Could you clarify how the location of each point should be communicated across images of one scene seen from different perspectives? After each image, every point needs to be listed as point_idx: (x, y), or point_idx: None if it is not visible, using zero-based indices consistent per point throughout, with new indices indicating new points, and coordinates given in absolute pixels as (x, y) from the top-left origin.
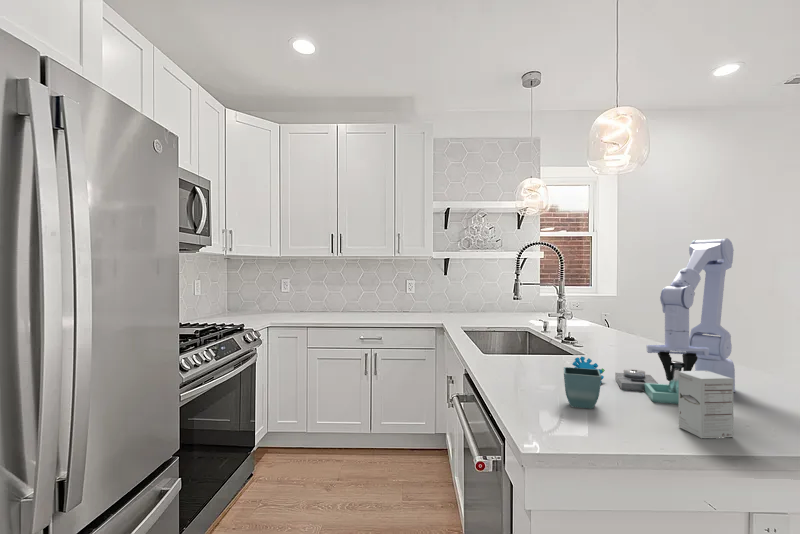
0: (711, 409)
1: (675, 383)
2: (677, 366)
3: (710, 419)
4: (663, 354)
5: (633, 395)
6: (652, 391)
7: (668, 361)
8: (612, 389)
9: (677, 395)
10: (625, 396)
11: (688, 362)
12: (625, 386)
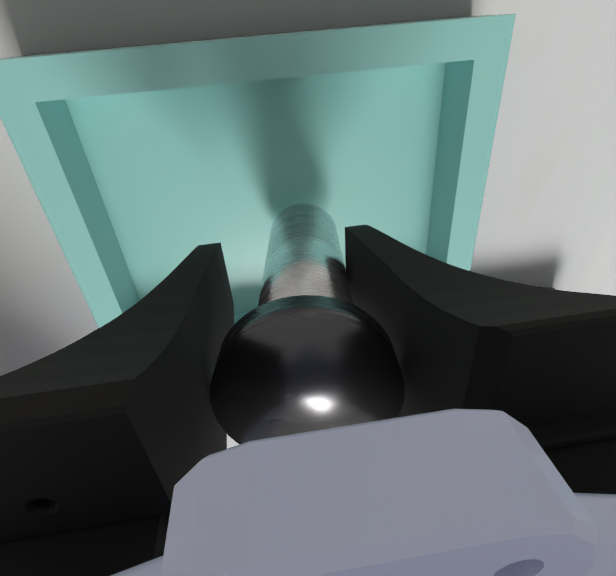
0: None
1: (301, 232)
2: (314, 298)
3: None
4: (594, 433)
5: (536, 176)
6: (500, 61)
7: (477, 299)
8: (602, 272)
9: (301, 32)
10: (603, 123)
11: (147, 343)
12: None
